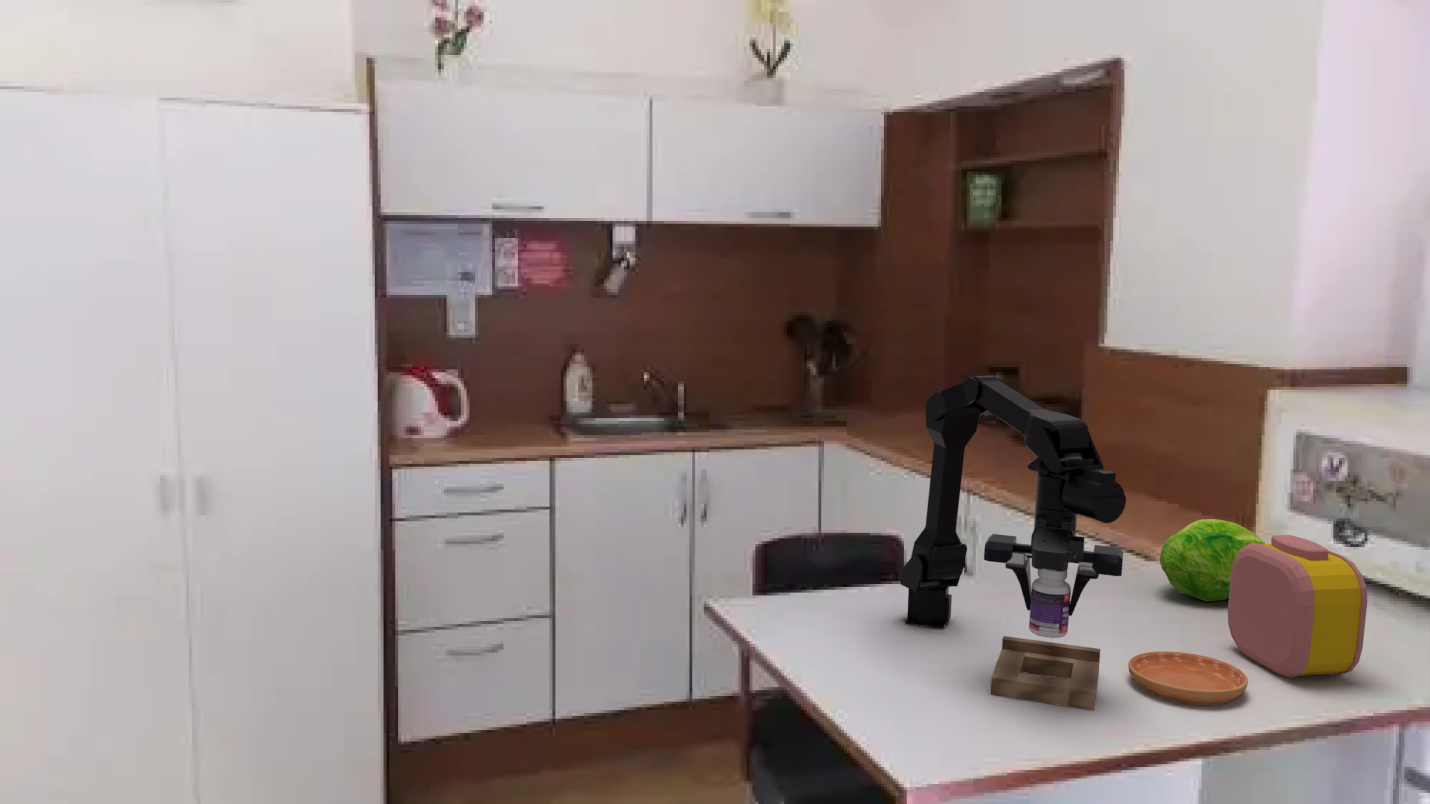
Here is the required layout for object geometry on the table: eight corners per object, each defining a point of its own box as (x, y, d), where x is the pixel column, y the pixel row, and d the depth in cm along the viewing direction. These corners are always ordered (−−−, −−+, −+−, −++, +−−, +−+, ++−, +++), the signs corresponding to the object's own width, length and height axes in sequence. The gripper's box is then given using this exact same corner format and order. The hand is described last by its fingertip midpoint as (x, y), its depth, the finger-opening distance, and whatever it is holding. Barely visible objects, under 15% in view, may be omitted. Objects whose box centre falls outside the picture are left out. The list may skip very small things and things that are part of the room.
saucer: (1112, 667, 171) (1113, 648, 171) (1218, 670, 171) (1220, 651, 171) (1149, 710, 156) (1151, 689, 155) (1266, 713, 155) (1268, 692, 155)
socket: (990, 694, 159) (991, 667, 159) (1002, 661, 172) (1003, 636, 172) (1094, 710, 155) (1096, 682, 154) (1098, 674, 167) (1100, 649, 167)
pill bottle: (1069, 640, 159) (1074, 574, 158) (1029, 637, 160) (1034, 570, 159) (1065, 628, 165) (1070, 563, 163) (1027, 624, 166) (1031, 560, 164)
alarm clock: (1364, 686, 165) (1377, 558, 162) (1296, 690, 163) (1308, 560, 160) (1281, 642, 183) (1291, 526, 180) (1219, 645, 181) (1229, 527, 178)
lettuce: (1213, 571, 220) (1285, 604, 206) (1131, 586, 209) (1202, 622, 196) (1227, 500, 216) (1302, 529, 203) (1145, 512, 205) (1218, 543, 192)
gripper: (981, 512, 156) (975, 620, 158) (1125, 526, 149) (1116, 639, 151) (991, 495, 166) (986, 597, 168) (1126, 508, 159) (1118, 614, 162)
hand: (1049, 612), depth 162 cm, fingers closed on pill bottle, 5 cm apart
